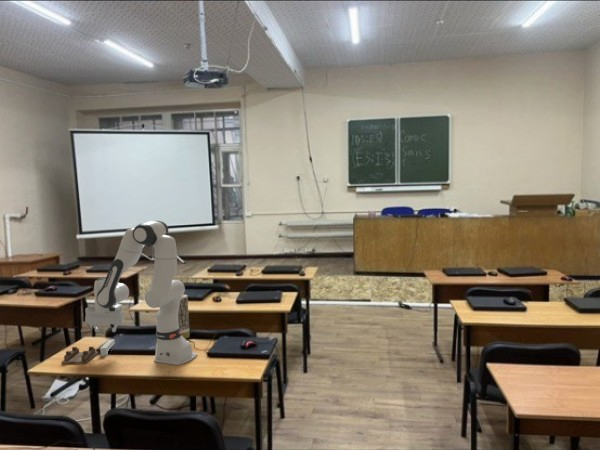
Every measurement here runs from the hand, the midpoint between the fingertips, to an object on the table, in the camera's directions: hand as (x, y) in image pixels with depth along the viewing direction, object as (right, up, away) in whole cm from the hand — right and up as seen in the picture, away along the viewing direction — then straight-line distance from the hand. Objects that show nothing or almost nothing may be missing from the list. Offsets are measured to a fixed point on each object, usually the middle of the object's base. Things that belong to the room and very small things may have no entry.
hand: (105, 331), depth 221 cm
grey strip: (+1, -11, +1) cm, 11 cm away
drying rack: (-9, -12, -8) cm, 17 cm away
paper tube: (+37, -9, +18) cm, 43 cm away
